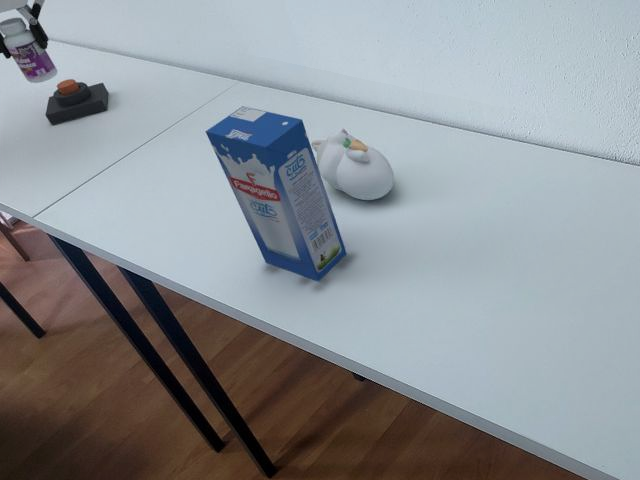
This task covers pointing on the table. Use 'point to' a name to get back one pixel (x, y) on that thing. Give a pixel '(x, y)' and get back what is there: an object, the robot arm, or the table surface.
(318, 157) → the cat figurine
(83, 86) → the black button base
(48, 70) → the pill bottle
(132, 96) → the table surface
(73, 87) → the lid button
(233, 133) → the milk carton
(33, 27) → the robot arm
